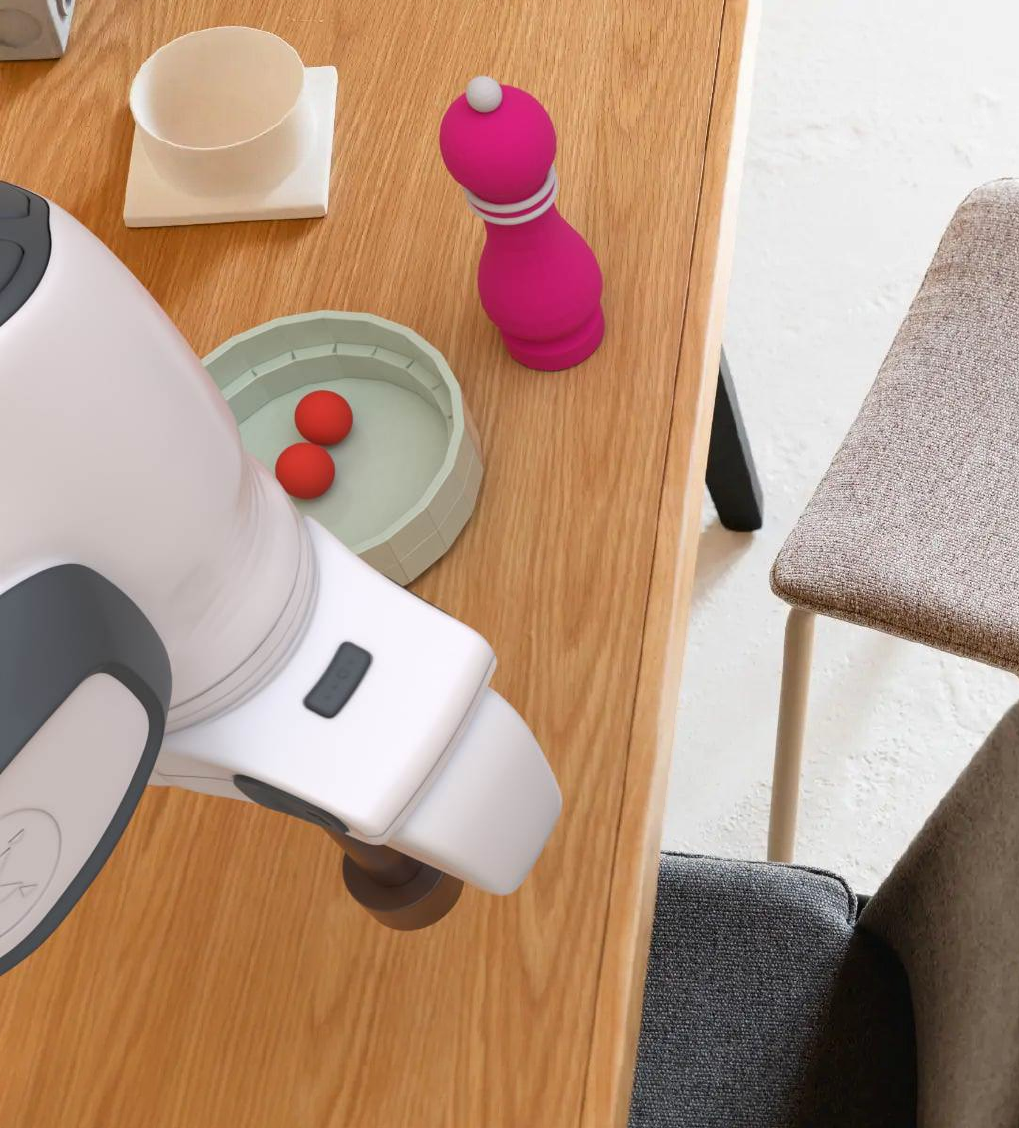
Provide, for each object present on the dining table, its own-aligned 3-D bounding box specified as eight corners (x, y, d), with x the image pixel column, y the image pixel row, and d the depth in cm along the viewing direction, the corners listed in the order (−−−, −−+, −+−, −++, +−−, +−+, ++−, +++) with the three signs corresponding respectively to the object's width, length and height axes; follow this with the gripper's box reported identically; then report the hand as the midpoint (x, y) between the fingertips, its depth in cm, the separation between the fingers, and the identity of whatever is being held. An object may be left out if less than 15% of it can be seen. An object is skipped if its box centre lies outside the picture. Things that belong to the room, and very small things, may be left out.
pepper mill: (490, 381, 91) (399, 136, 73) (500, 287, 94) (415, 32, 77) (610, 376, 91) (547, 130, 73) (615, 283, 94) (556, 27, 77)
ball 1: (357, 440, 89) (331, 463, 86) (307, 419, 89) (280, 441, 86) (367, 394, 87) (340, 416, 85) (316, 373, 87) (288, 394, 85)
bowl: (381, 664, 82) (350, 618, 77) (124, 554, 85) (79, 504, 80) (539, 424, 89) (520, 368, 84) (297, 332, 93) (265, 274, 88)
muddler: (431, 947, 64) (305, 819, 50) (343, 906, 65) (195, 769, 51) (484, 855, 66) (377, 707, 52) (398, 816, 66) (271, 660, 52)
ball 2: (284, 428, 84) (314, 434, 87) (252, 475, 84) (284, 479, 87) (327, 462, 83) (356, 466, 86) (295, 509, 83) (325, 511, 86)
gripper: (-176, 583, 44) (50, 760, 56) (420, 856, 40) (527, 984, 52) (-33, 420, 47) (154, 621, 59) (539, 658, 42) (614, 823, 55)
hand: (332, 793), depth 55 cm, fingers closed on muddler, 2 cm apart
